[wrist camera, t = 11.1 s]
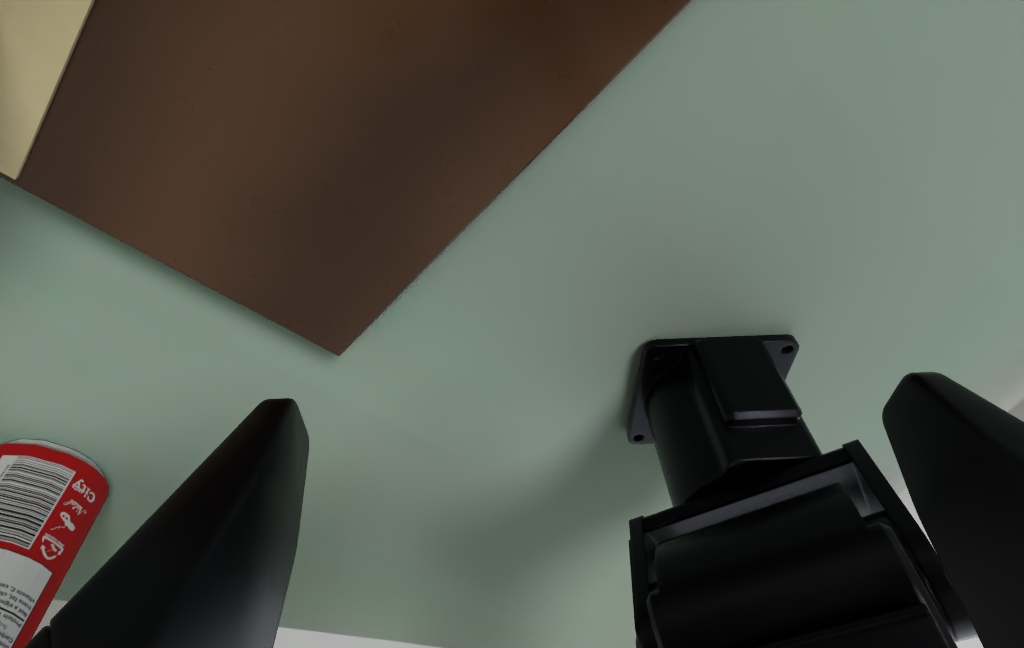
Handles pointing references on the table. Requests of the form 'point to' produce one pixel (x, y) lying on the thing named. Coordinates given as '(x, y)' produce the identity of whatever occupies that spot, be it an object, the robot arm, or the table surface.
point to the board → (298, 130)
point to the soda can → (41, 528)
